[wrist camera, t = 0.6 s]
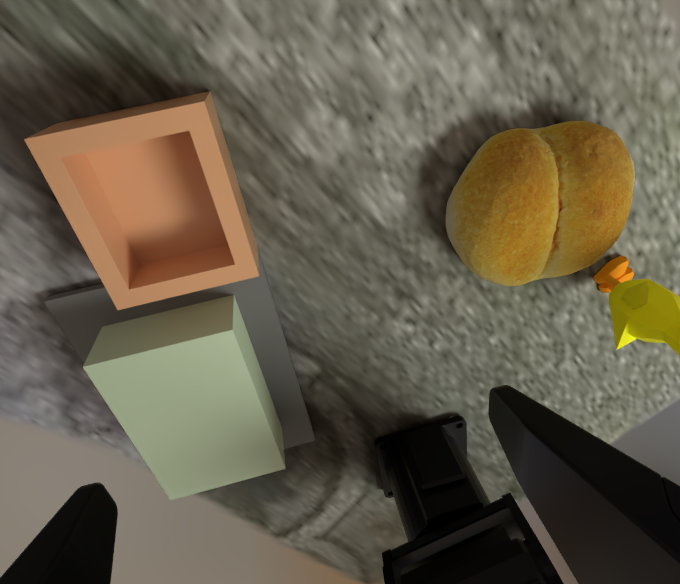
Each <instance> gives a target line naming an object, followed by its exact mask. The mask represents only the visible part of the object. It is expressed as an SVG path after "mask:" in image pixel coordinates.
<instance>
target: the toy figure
mask: <svg viewBox="0 0 680 584" xmlns="http://www.w3.org/2000/svg"><path fill="white" fill-rule="evenodd" d="M628 264H629V261H628V260H627V258H626V257H624V256H619V257H617V258H614V259H612V260H611V261H609V262H608V263H607V264H606V265H605V266H604V267H603V268H602V269H601V270H600V271H599V272H598V273H597V274H596V275H595V276H594V277H593V278H594V280H595V281H596V282H597V283H598V284H599V283H601V284H600V285H599V286H598V287H599V289H600V291H601V292H602V293H606V292H610V293H609V305H610V311H611V317H612V321H613V327H614V335H615V343H616V350H617V349H619V348H621V347H623V346H625V345H626V344H628V343H630V342H632V341H633V340H635V339H640V340H642V341H645V342H656V343H667V344H668V345H669V346H670V347H671V348H672V349H673V350H674V351H675V352H676V353H678V354H679V355H680V297H679V296H678V295H676V294H674V293H673V292H671V291H669V290H668V289H666V288H665V287H663V286H661V285H659V284H657V283H655V282H653V281H651V280H649V279H641V280H631V279H632V277H633V275H634V272H633V270H632V268H629V267H627V266H628Z"/></svg>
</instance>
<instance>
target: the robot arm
mask: <svg viewBox="0 0 680 584" xmlns="http://www.w3.org/2000/svg"><path fill="white" fill-rule="evenodd" d="M489 418H490V422H491V424H492V426H493V428H494V430H495V433H496V435H497V437H498V439H499V441H500V444H501V446H502V448H503V450H504V452H505V454H506V457H507V459H508V461H509V463H510V465H511V467H512V470H513V472H514V474H515V476H516V478H517V480H518V482H519V484H520V486H521V487H522V489H523V491H524V493H525V494H526V496H527V498H528V499H529V501H530V503H531V504H532V506H533V508H534V509H535V511H536V513H537V514H538V516H539V518H540V519H541V521H542V523H543V524H544V526H545V528H546V530H547V531H548V533H549V535H550V536H551V538H552V540H553V541H554V543H555V545H556V546H557V548H558V550H559V551H560V553H561V555H562V556H563V558H564V560H565V561H566V563H567V565H568V567H569V568H570V570H571V572H572V573H573V575H574V577H575V578H576V580H577V582H578V583H579V584H680V486H679V485H677V484H676V483H674V482H672V481H670V480H669V479H667V478H665V477H662V478H661V475H660V474H658V473H657V472H655V471H653V470H651V469H650V468H648V467H647V466H645V465H643V464H641V463H640V462H638V461H636V460H635V459H633V458H631V457H630V456H628V455H626V454H625V453H623V452H621V451H619V450H618V449H616V448H614V447H613V446H611V445H609V444H608V443H606V442H604V441H603V440H601V439H599V438H597V437H596V436H594V435H592V434H591V433H589V432H587V431H586V430H584V429H582V428H580V427H579V426H577V425H575V424H574V423H572V422H570V421H569V420H567V419H565V418H563V417H562V416H560V415H558V414H557V413H555V412H553V411H552V410H550V409H548V408H547V407H545V406H543V405H541V404H540V403H538V402H536V401H535V400H533V399H531V398H530V397H528V396H526V395H524V394H523V393H521V392H519V391H518V390H516V389H514V388H513V387H511V386H508V385H503V386H499V387H495V388H492V389H491V390H490V394H489ZM374 445H375V450H376V455H377V460H378V466H379V471H380V476H381V481H382V486H383V491H384V494H385V497H388V498H391V497H394V498H395V501H396V505H397V508H398V511H399V514H400V517H401V520H402V523H403V526H404V529H405V533H406V536H407V539H408V542H407V543H405V544H403V545H401V546H399V547H397V548H395V549H392V550H391V549H388V550H386V551H384V552H382V557H383V564H384V566H383V575H384V582H385V584H563V582H562V580H561V578H560V576H559V575H558V573H557V571H556V569H555V568H554V566H553V564H552V562H551V561H550V559H549V557H548V555H547V554H546V552H545V550H544V549H543V547H542V545H541V544H540V542H539V540H538V539H537V537H536V535H535V534H534V532H533V530H532V528H531V527H530V525H529V523H528V522H527V520H526V519H525V517H524V515H523V514H522V512H521V510H520V508H519V507H518V505H517V503H516V502H515V500H514V498H513V497H512V495H511V493H507V494H505V495H503V496H502V497H503V498H501V499H499V500H497V501H494V502H492V503H490V501H489V499H488V497H487V495H486V493H485V491H484V489H483V487H482V486H481V484H480V482H479V480H478V478H477V476H476V474H475V472H474V470H473V468H472V466H471V465H470V463H469V461H468V459H467V431H466V422H465V420H464V418H463V417H461V416H457V417H453V418H450V419H446V420H442V421H439V422H435V423H431V424H428V425H424V426H420V427H417V428H413V429H409V430H406V431H402V432H398V433H395V434H391V435H387V436H384V437H380V438H378V439H377V440H376V441H375V443H374ZM117 515H118V512H117V506H116V503H115V501H114V500H113V499H112V497H111V496H110V494H109V493H108V491H107V490H106V489H105V487H104V485H103V484H101V483H93V484H88V485H84V486H81V487H80V488H78V489H77V490H76V491H75V492H74V494H73V495H72V496H71V497H70V498H69V499H68V500H67V502H66V503H65V504H64V505H63V506H62V507H61V508H60V510H59V511H58V512H57V513H56V514H55V515H54V517H53V518H52V519H51V520H50V521H49V522H48V523H47V525H46V526H45V527H44V528H43V529H42V530H41V531H40V533H39V534H38V535H37V536H36V537H35V538H34V540H33V541H32V542H31V543H30V544H29V545H28V546H27V548H26V549H25V550H24V551H23V552H22V553H21V554H20V556H19V557H18V558H17V559H16V560H15V561H14V562H13V564H12V565H11V566H10V567H9V568H8V569H7V570H6V572H5V573H4V574H3V575H2V576H1V577H0V584H110V581H111V573H112V564H113V554H114V544H115V534H116V525H117ZM524 539H525V540H524Z"/></svg>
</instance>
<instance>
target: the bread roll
mask: <svg viewBox="0 0 680 584" xmlns="http://www.w3.org/2000/svg"><path fill="white" fill-rule="evenodd" d="M634 183H635V168H634V162H633V159H632V157H631V156H630V155H629V153H628V151H627V148H626V147H625V145H624V143H623V141H622V140H621V139H620V137H619V136H618V135H617V134H616V133H615V132H613V131H612V130H610V129H608V128H607V127H604V126H601V125H598V124H595V123H591V122H586V121H568V122H563V123H559V124H554V125H550V126H547V127H543V128H536V129H527V128H514V129H510V130H506V131H503V132H500V133H498V134H496V135H494V136H492V137H490V138H489V139H488V140H487V141H486V142H485V143H484V144H483V145H482V146H481V147H480V148H479V149H478V151H477V152H476V154H475V155H474V156H473V158H472V159H471V161H470V162H469V164H468V165H467V167H466V168H465V170H464V171H463V173H462V175H461V176H460V178H459V180H458V182H457V183H456V185H455V187H454V188H453V191H452V193H451V195H450V197H449V199H448V202H447V207H446V229H447V234H448V238H449V240H450V241H451V243H452V246H453V248H454V249H455V251H456V253H457V254H458V255H459V257H460V259H461V261H462V262H463V263H464V265H465V266H466V267H467V268H468V269H469V270H470V271H472V272H473V273H475V274H476V275H478V276H479V277H481V278H482V279H485V280H488V281H491V282H494V283H497V284H500V285H503V286H518V285H522V284H526V283H528V282H530V281H533V280H538V279H543V278H551V277H559V276H564V275H570V274H572V273H574V272H576V271H579V270H581V269H584V268H586V267H589V266H591V265H592V264H593V263H595V262H596V261H597V260H598V259H599V258H600V257H601V256H602V255H603V254H604V253H605V252H606V251H607V250H608V249H609V248H610V247H611V246H612V245H613V244H614V243H615V242H616V241H617V239H618V238H619V236H620V234H621V232H622V230H623V228H624V226H625V223H626V221H627V218H628V215H629V212H630V207H631V202H632V196H633V194H632V192H633V185H634Z"/></svg>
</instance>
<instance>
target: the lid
mask: <svg viewBox="0 0 680 584" xmlns="http://www.w3.org/2000/svg"><path fill="white" fill-rule="evenodd" d="M83 368H84V370H85V371H86V373H87V374H88V376H89V377H90V379H91V380H92V382H93V383H94V385H95V386H96V388H97V390H98V391H99V393H100V394H101V396H102V397H103V399H104V400H105V402H106V403H107V405H108V406H109V408H110V409H111V411H112V412H113V414H114V415H115V417H116V418H117V420H118V421H119V423H120V424H121V426H122V427H123V429H124V430H125V432H126V433H127V435H128V436H129V438H130V440H131V441H132V443H133V444H134V446H135V447H136V449H137V450H138V452H139V453H140V455H141V456H142V458H143V459H144V461H145V462H146V464H147V465H148V467H149V468H150V470H151V471H152V473H153V474H154V476H155V477H156V479H157V480H158V482H159V483H160V485H161V486H162V488H163V490H164V491H165V493H166V494H167V496H168V497H169V499H170V500H173V499H177V498H181V497H184V496H188V495H192V494H195V493H199V492H203V491H206V490H210V489H213V488H217V487H221V486H224V485H228V484H232V483H235V482H239V481H243V480H246V479H250V478H254V477H257V476H261V475H265V474H268V473H272V472H275V471H279V470H283V469H286V466H285V456H284V445H283V435H282V427H281V424H280V421H279V418H278V416H277V413H276V410H275V407H274V404H273V402H272V399H271V396H270V393H269V391H268V388H267V385H266V382H265V379H264V377H263V374H262V371H261V368H260V366H259V363H258V360H257V357H256V355H255V352H254V349H253V346H252V343H251V341H250V338H249V335H248V332H247V330H246V327H245V324H244V321H243V318H242V316H241V313H240V310H239V307H238V305H237V302H236V299H235V296H234V295H231V296H226V297H222V298H218V299H214V300H210V301H206V302H202V303H198V304H194V305H189V306H185V307H181V308H177V309H173V310H169V311H165V312H161V313H157V314H152V315H148V316H144V317H140V318H136V319H132V320H128V321H124V322H120V323H115V324H111V325H107V326H103V327H102V328H101V330H100V332H99V334H98V336H97V338H96V340H95V343H94V345H93V347H92V349H91V351H90V353H89V355H88V357H87V359H86V361H85V363H84V365H83Z"/></svg>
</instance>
